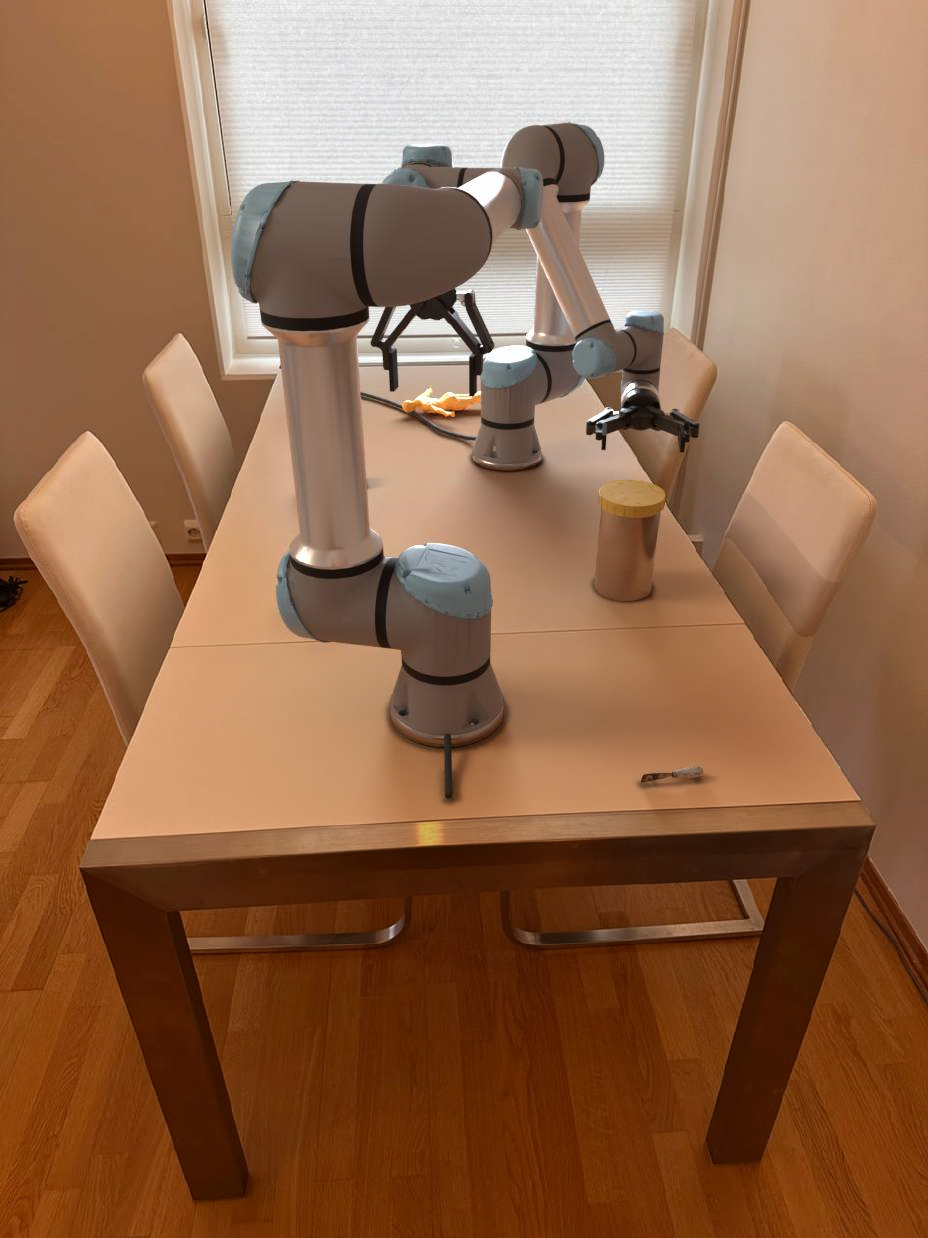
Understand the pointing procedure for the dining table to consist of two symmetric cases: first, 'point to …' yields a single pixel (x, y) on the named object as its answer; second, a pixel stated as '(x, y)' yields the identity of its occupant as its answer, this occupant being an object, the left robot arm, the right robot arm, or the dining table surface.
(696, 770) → the putty knife
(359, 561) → the left robot arm
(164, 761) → the dining table surface
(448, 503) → the dining table surface
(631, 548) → the jar
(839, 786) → the dining table surface
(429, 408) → the human figure
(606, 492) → the lid
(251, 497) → the dining table surface
